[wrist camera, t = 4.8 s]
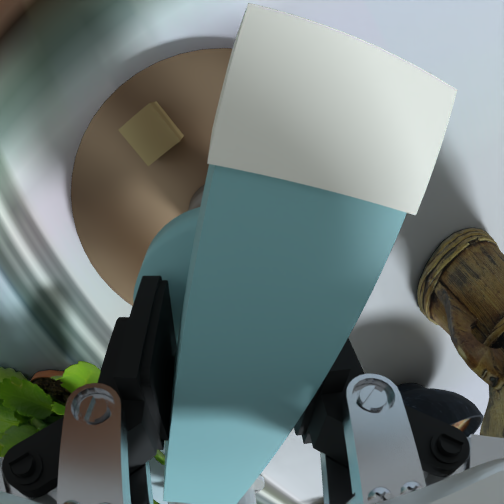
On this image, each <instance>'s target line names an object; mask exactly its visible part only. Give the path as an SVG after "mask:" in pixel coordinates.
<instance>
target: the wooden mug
mask: <svg viewBox="0 0 504 504" xmlns="http://www.w3.org/2000/svg"><path fill="white" fill-rule="evenodd" d="M417 296H418V305H419V308H420V311H421V312H422V313H423V314H424V315H425V316H426V317H427V318H428V319H429V320H430V321H431V322H433V323H434V324H436V325H440V326H441V327H442V328H443V329H444V330H445V331H446V332H447V333H448V334H449V335H450V336H451V340H452V342H453V344H454V346H455V348H456V349H457V351H458V353H459V355H460V356H461V357H462V358H463V360H464V361H465V362H466V364H467V365H468V366H469V368H470V369H471V370H473V371H474V372H475V373H476V374H477V375H478V376H479V377H480V378H481V379H482V380H484V381H485V382H486V383H487V384H489V402H488V406H487V409H486V412H485V415H484V418H483V421H482V425H481V431H480V435H482V436H489V437H498V438H504V255H503V253H502V252H501V251H500V249H499V247H498V245H497V243H496V242H495V241H494V240H493V239H492V237H491V236H490V235H489V234H488V233H487V232H485V231H483V230H482V229H477V228H469V229H464V230H462V231H459V232H456V233H454V234H452V235H451V236H450V237H449V238H447V239H446V240H445V241H443V242H442V243H441V245H440V246H439V247H438V248H437V250H436V251H435V252H434V253H433V255H432V257H431V258H430V260H429V261H428V263H427V264H426V266H425V269H424V271H423V274H422V276H421V278H420V281H419V286H418V291H417Z"/></svg>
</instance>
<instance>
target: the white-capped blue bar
mask: <svg viewBox="0 0 504 504" xmlns="http://www.w3.org/2000/svg"><path fill="white" fill-rule="evenodd" d="M456 93H457V89H455V88H453V87H452V86H450V85H449V84H447V83H445V82H444V81H442V80H440V79H439V78H437V77H435V76H434V75H432V74H430V73H428V72H427V71H425V70H423V69H421V68H419V67H418V66H416V65H414V64H412V63H410V62H408V61H406V60H404V59H402V58H400V57H398V56H396V55H394V54H392V53H390V52H388V51H386V50H384V49H382V48H380V47H377V46H375V45H373V44H371V43H368V42H366V41H364V40H362V39H359V38H357V37H354V36H352V35H349V34H347V33H344V32H342V31H339V30H337V29H334V28H331V27H328V26H326V25H323V24H320V23H317V22H314V21H311V20H308V19H305V18H302V17H299V16H295V15H292V14H289V13H285V12H282V11H278V10H274V9H271V8H267V7H263V6H259V5H254V4H250V3H248V6H247V8H246V11H245V14H244V17H243V19H242V22H241V25H240V28H239V30H238V33H237V36H236V39H235V42H234V45H233V49H232V52H231V56H230V60H229V64H228V67H227V71H226V75H225V79H224V83H223V87H222V91H221V95H220V99H219V103H218V107H217V111H216V115H215V120H214V124H213V128H212V134H211V141H210V148H209V155H208V162H207V164H209V167H208V172H207V177H206V182H205V186H204V191H203V196H202V201H201V206H200V207H198V208H194V209H192V210H189V211H187V212H184V213H183V214H181V215H179V216H177V217H176V218H174V219H173V220H171V221H170V222H169V223H167V224H166V225H165V226H164V227H163V228H162V229H161V230H160V231H159V232H158V233H157V235H156V236H155V237H154V239H153V240H152V242H151V244H150V246H149V248H148V250H147V253H146V255H145V258H144V261H143V263H142V266H141V269H140V272H139V274H138V277H137V280H136V284H135V287H134V295H133V304H134V301H135V298H136V294H137V291H138V288H139V285H140V282H141V279H142V277H143V276H161V278H162V280H167V281H168V284H169V293H170V300H171V308H172V315H173V323H174V329H175V336H176V343H177V349H176V357H175V365H174V376H173V387H172V399H171V412H170V427H169V441H167V440H166V452H165V472H164V499H163V501H169V502H179V503H191V504H237V503H238V502H239V500H240V499H241V498H242V497H243V496H244V494H245V493H246V492H247V491H248V489H249V488H250V487H251V485H252V484H253V483H254V482H255V480H256V479H257V478H258V476H259V475H260V474H261V472H262V471H263V470H264V468H265V467H266V466H267V464H268V463H269V462H270V460H271V459H272V458H273V456H274V455H275V453H276V452H277V451H278V449H279V448H280V446H281V445H282V444H283V442H284V441H285V439H286V438H287V436H288V435H289V433H290V432H291V431H292V429H293V428H294V426H295V425H296V423H297V422H298V420H299V419H300V417H301V415H302V414H303V412H304V411H305V409H306V408H307V406H308V405H309V403H310V402H311V400H312V398H313V397H314V395H315V394H316V392H317V390H318V389H319V387H320V385H321V384H322V382H323V380H324V379H325V377H326V375H327V374H328V372H329V370H330V369H331V367H332V365H333V364H334V362H335V360H336V358H337V357H338V355H339V353H340V351H341V350H342V348H343V346H344V344H345V342H346V341H347V339H348V337H349V335H350V333H351V331H352V329H353V328H354V326H355V324H356V322H357V320H358V318H359V316H360V314H361V312H362V310H363V308H364V306H365V304H366V302H367V300H368V298H369V296H370V294H371V292H372V290H373V288H374V286H375V284H376V282H377V280H378V278H379V276H380V274H381V271H382V269H383V267H384V265H385V263H386V261H387V258H388V256H389V254H390V252H391V249H392V247H393V245H394V243H395V240H396V238H397V236H398V233H399V231H400V228H401V226H402V224H403V221H404V219H405V216H406V214H407V213H409V214H412V215H415V216H416V214H417V211H418V209H419V206H420V204H421V201H422V199H423V196H424V193H425V191H426V188H427V185H428V183H429V180H430V177H431V174H432V172H433V169H434V166H435V163H436V160H437V157H438V154H439V151H440V148H441V145H442V142H443V139H444V135H445V132H446V129H447V126H448V122H449V119H450V115H451V112H452V108H453V104H454V101H455V97H456Z"/></svg>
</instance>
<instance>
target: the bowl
mask: <svg viewBox="0 0 504 504" xmlns="http://www.w3.org/2000/svg"><path fill="white" fill-rule="evenodd" d="M397 388H398V390H399V392H400V394H401V397H402V400H403V404H404V405H406V406H409V407H411V408H413V409H415V410H417V411H420V412H422V413H424V414H426V415H429V416H431V417H433V418H436V419H438V420H440V421H443V422H445V423H447V424H450V425H452V426H454V427H456V428H458V429H460V430H461V431H462V432H463V433H464V434H465V435H466V437H469V436H470V435H471V434H474V433H475V432H476V430H477V429H478V428H479V426H480V425H481V423H482V421H483V415H482V414H481V412H480V411H479V410H478V408H477V407H476V406H475V404H473V403H472V402H471V401H469V400H468V399H466V398H465V397H463V396H462V395H459V394H457V393H454V392H450V391H446V390H440V389H427V388H425V387H423V386H421V385H419V384H416V383H406V384H402V385H399V386H397Z"/></svg>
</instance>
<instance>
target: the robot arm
mask: <svg viewBox="0 0 504 504" xmlns="http://www.w3.org/2000/svg"><path fill="white" fill-rule="evenodd" d="M176 349H177V343H176V336H175V329H174V323H173V315H172V308H171V300H170V293H169V284H168V281H167V280H162V278H161V276H143V277H142V279H141V282H140V285H139V288H138V291H137V294H136V298H135V301H134V304H133V307H132V310H131V314H130V317H119V318H118V319H117V321H116V324H115V327H114V330H113V333H112V336H111V339H110V342H109V345H108V349H107V352H106V355H105V358H104V362H103V365H102V368H101V372H100V375H99V379H98V382H97V383H90V384H85V385H83V386H81V387H79V388H77V389H76V390H75V391H73V392H72V393H71V395H70V396H69V397H68V399H67V402H66V406H65V412H64V417H62V418H60V419H59V420H57V421H55V422H54V423H52V424H50V425H49V426H47V427H45V428H43V429H42V430H40V431H38V432H37V433H35V434H33V435H31V436H30V437H28V438H26V439H24V440H23V441H21V442H19V443H17V444H16V445H14V446H13V447H11V448H10V449H9V450H8V451H7V453H6V454H5V456H4V457H2V458H1V457H0V504H154V503H153V495H152V486H151V477H150V466H149V460H150V459H151V458H153V457H154V456H156V455H157V450H163V449H164V440H167V441H169V427H170V412H171V399H172V387H173V376H174V365H175V357H176ZM294 430H295V433H296V435H302V438H303V443H304V444H307V443H312V445H313V448H314V449H316V450H318V451H320V457H321V470H322V483H323V497H324V504H504V438H498V437H489V436H482V435H474V434H471V435H470V436H469V437H466V435H465V434H464V433H463V432H462V431H461V430H460V429H458V428H456V427H454V426H452V425H450V424H447V423H445V422H443V421H440V420H438V419H436V418H433V417H431V416H429V415H426V414H424V413H422V412H420V411H417V410H415V409H413V408H411V407H409V406H406V405H404V404H403V400H402V397H401V394H400V392H399V390H398V388H397V386H396V385H395V384H394V383H393V382H392V381H391V380H389V379H388V378H386V377H384V376H381V375H378V374H364V372H363V369H362V367H361V365H360V363H359V361H358V358H357V356H356V354H355V352H354V349H353V347H352V345H351V343H350V341H349V339H347V341H346V342H345V344H344V346H343V348H342V350H341V351H340V353H339V355H338V357H337V358H336V360H335V362H334V364H333V365H332V367H331V369H330V370H329V372H328V374H327V375H326V377H325V379H324V380H323V382H322V384H321V385H320V387H319V389H318V390H317V392H316V394H315V395H314V397H313V398H312V400H311V402H310V403H309V405H308V406H307V408H306V409H305V411H304V412H303V414H302V415H301V417H300V419H299V420H298V422H297V423H296V425H295V426H294ZM264 486H265V483H264V478H263V477H262V476H261V475H259V476H258V478H257V479H256V480H255V482H254V483H253V484H252V485H251V487H250V488H249V489H248V491H247V492H246V493H245V494H244V496H243V497H242V498H241V499H240V500H239V502H238V503H237V504H256V497H255V493H257V492H259V491H260V490H262V489H263V488H264ZM168 504H191V503H179V502H169V501H168Z"/></svg>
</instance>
